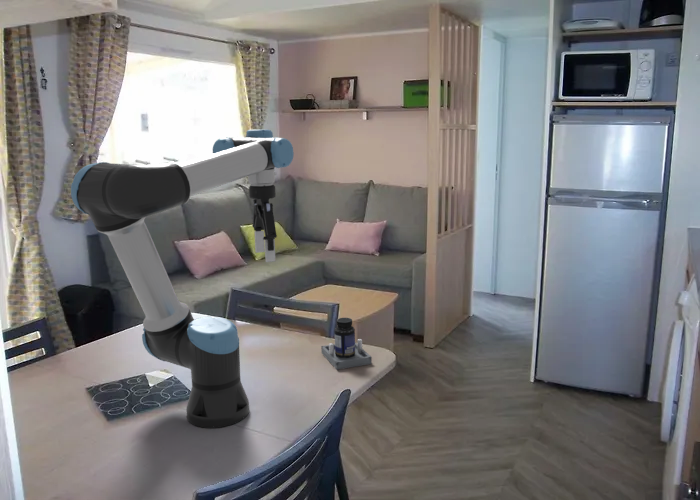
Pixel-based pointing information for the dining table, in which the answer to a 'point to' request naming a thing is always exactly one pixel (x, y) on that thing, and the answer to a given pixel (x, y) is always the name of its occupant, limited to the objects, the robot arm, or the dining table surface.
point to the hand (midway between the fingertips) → (265, 256)
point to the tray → (356, 360)
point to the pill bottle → (344, 338)
